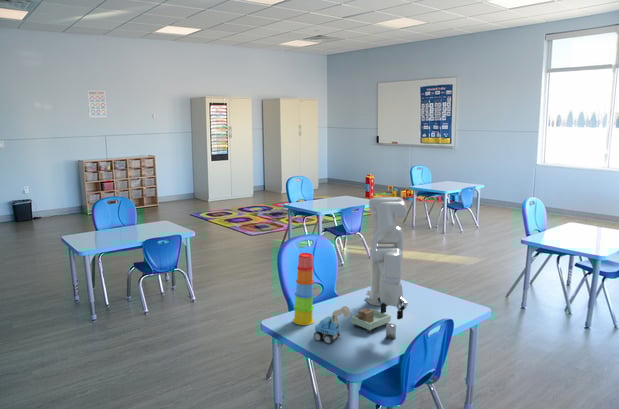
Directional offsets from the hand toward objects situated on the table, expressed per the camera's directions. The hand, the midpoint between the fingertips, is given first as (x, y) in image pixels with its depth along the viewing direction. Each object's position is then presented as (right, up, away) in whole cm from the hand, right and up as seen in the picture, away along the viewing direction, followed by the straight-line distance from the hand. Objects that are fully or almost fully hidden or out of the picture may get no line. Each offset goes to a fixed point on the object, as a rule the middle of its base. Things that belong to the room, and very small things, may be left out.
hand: (391, 315), depth 227 cm
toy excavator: (-27, -12, 0) cm, 29 cm away
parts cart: (-8, -8, +16) cm, 19 cm away
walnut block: (-10, -6, +13) cm, 18 cm away
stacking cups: (-40, -8, +21) cm, 46 cm away
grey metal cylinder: (0, -11, +2) cm, 11 cm away
